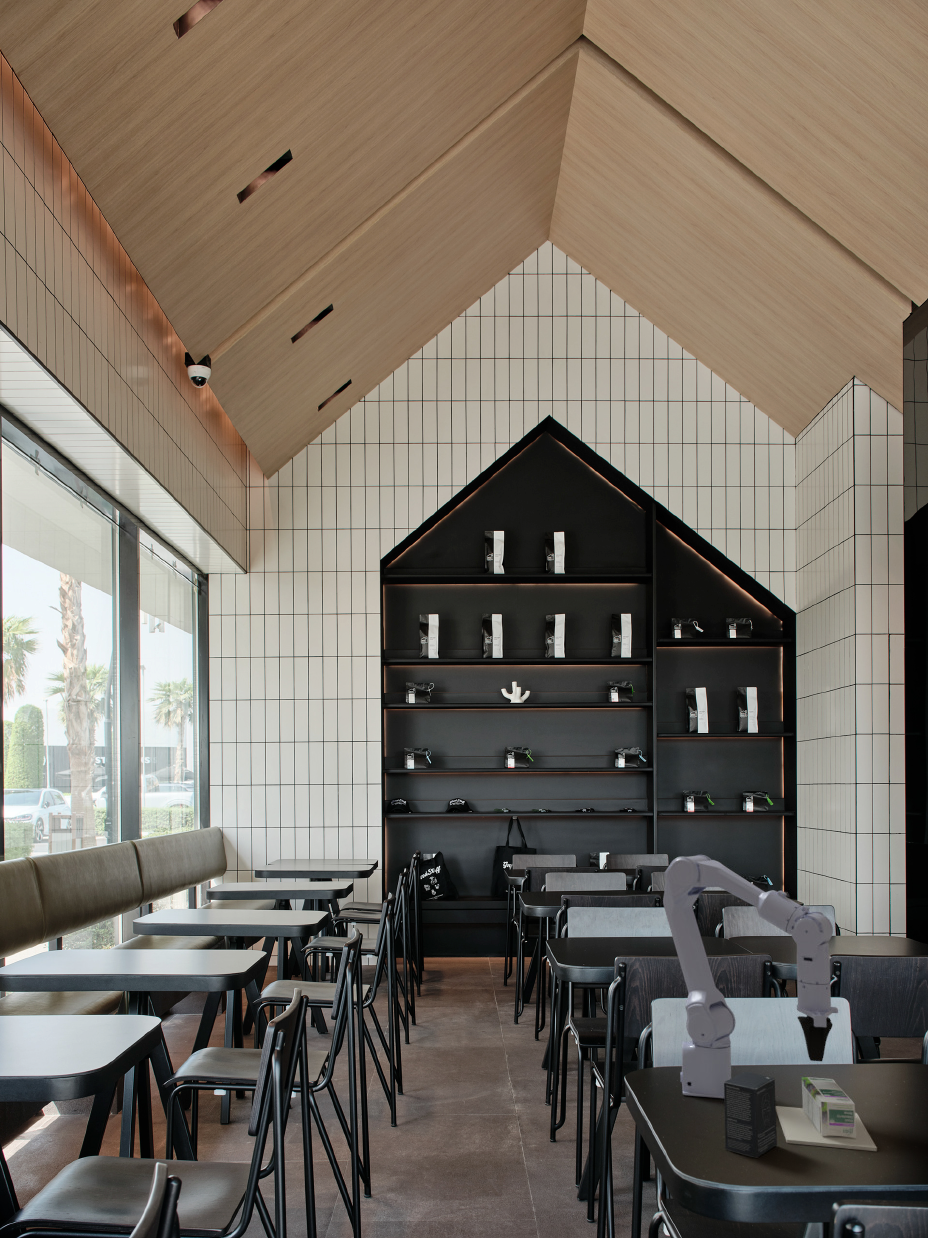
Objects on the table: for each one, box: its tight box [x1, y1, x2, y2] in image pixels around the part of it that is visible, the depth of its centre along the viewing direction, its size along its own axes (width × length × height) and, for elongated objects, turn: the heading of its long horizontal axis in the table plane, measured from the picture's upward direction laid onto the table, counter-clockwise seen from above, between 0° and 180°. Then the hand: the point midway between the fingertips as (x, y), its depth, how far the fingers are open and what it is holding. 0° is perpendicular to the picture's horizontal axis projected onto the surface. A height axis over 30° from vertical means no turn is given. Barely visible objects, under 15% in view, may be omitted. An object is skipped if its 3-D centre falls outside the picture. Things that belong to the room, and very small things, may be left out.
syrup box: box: [801, 1076, 856, 1139], centre depth 175 cm, size 6×6×14 cm
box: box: [723, 1071, 778, 1159], centre depth 165 cm, size 8×6×11 cm
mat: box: [776, 1105, 878, 1152], centre depth 174 cm, size 14×18×1 cm
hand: (815, 1060), depth 182 cm, fingers closed
